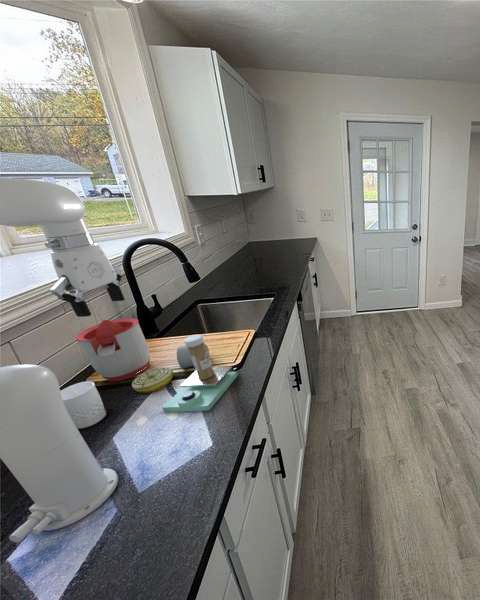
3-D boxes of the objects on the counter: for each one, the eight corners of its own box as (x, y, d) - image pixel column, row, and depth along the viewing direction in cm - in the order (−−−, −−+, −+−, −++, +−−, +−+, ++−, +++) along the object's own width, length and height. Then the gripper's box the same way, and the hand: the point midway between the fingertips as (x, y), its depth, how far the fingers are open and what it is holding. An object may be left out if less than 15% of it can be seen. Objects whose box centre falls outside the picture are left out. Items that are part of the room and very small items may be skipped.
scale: (208, 411, 87) (205, 402, 86) (163, 412, 87) (159, 404, 86) (237, 375, 102) (235, 367, 101) (199, 377, 102) (196, 369, 101)
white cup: (86, 432, 82) (68, 402, 78) (63, 429, 84) (44, 399, 80) (116, 411, 89) (101, 382, 85) (95, 408, 91) (79, 380, 87)
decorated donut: (167, 370, 107) (163, 361, 105) (180, 380, 101) (176, 371, 99) (130, 387, 99) (125, 377, 98) (142, 399, 93) (137, 389, 92)
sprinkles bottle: (214, 377, 95) (200, 339, 90) (197, 382, 94) (182, 343, 88) (215, 369, 99) (202, 332, 94) (199, 373, 98) (185, 336, 92)
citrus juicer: (90, 395, 97) (59, 339, 89) (106, 368, 111) (80, 317, 103) (151, 378, 103) (128, 324, 96) (159, 354, 118) (139, 305, 110)
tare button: (190, 400, 87) (189, 396, 87) (181, 401, 87) (180, 397, 87) (196, 394, 90) (195, 390, 89) (187, 394, 90) (186, 391, 89)
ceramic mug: (208, 366, 108) (201, 346, 105) (181, 372, 105) (173, 353, 102) (212, 352, 117) (206, 333, 114) (187, 357, 114) (181, 339, 111)
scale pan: (216, 385, 92) (216, 384, 92) (180, 387, 93) (180, 385, 92) (232, 368, 101) (231, 366, 100) (199, 369, 101) (198, 367, 101)
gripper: (48, 250, 66) (84, 322, 73) (118, 234, 82) (142, 294, 89) (15, 252, 67) (53, 323, 73) (91, 236, 83) (117, 296, 89)
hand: (102, 307), depth 81 cm, fingers open, 9 cm apart
